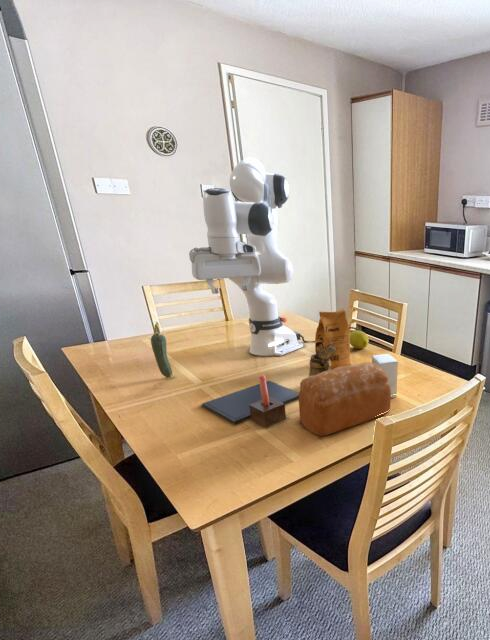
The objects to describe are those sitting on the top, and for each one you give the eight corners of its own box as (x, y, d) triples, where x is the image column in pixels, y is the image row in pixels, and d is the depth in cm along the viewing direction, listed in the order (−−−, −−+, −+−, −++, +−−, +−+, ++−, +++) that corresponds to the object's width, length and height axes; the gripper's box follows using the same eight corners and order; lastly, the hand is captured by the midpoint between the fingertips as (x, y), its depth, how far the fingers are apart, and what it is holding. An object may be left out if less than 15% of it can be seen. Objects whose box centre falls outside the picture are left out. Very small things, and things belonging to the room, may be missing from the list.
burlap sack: (318, 399, 133) (316, 347, 126) (303, 384, 143) (300, 335, 136) (343, 393, 138) (342, 343, 130) (327, 379, 148) (325, 332, 140)
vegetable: (167, 381, 139) (154, 324, 131) (156, 380, 140) (143, 323, 131) (176, 377, 143) (165, 321, 135) (165, 375, 144) (153, 320, 135)
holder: (271, 411, 124) (269, 396, 122) (286, 418, 120) (284, 403, 118) (250, 419, 118) (248, 404, 116) (265, 427, 115) (264, 412, 113)
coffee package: (313, 363, 161) (310, 309, 152) (341, 358, 168) (340, 305, 159) (323, 372, 154) (321, 315, 145) (352, 366, 161) (352, 311, 152)
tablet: (269, 383, 142) (269, 380, 142) (301, 397, 134) (301, 394, 133) (202, 406, 124) (201, 403, 124) (234, 424, 116) (234, 421, 115)
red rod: (269, 417, 120) (262, 373, 116) (273, 419, 119) (266, 374, 115) (264, 419, 119) (257, 375, 114) (267, 421, 118) (260, 376, 113)
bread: (394, 413, 127) (396, 366, 121) (320, 440, 110) (317, 388, 104) (368, 397, 136) (368, 353, 130) (295, 420, 119) (292, 371, 113)
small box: (396, 397, 137) (398, 361, 132) (379, 400, 135) (380, 363, 129) (387, 387, 144) (388, 353, 139) (370, 390, 141) (371, 355, 136)
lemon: (372, 350, 180) (372, 332, 177) (357, 353, 175) (357, 335, 172) (359, 343, 187) (359, 326, 184) (344, 346, 183) (344, 329, 179)
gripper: (191, 248, 116) (199, 297, 122) (260, 246, 129) (265, 290, 135) (184, 246, 120) (192, 293, 126) (252, 244, 133) (256, 287, 139)
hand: (230, 291), depth 130 cm, fingers open, 8 cm apart
